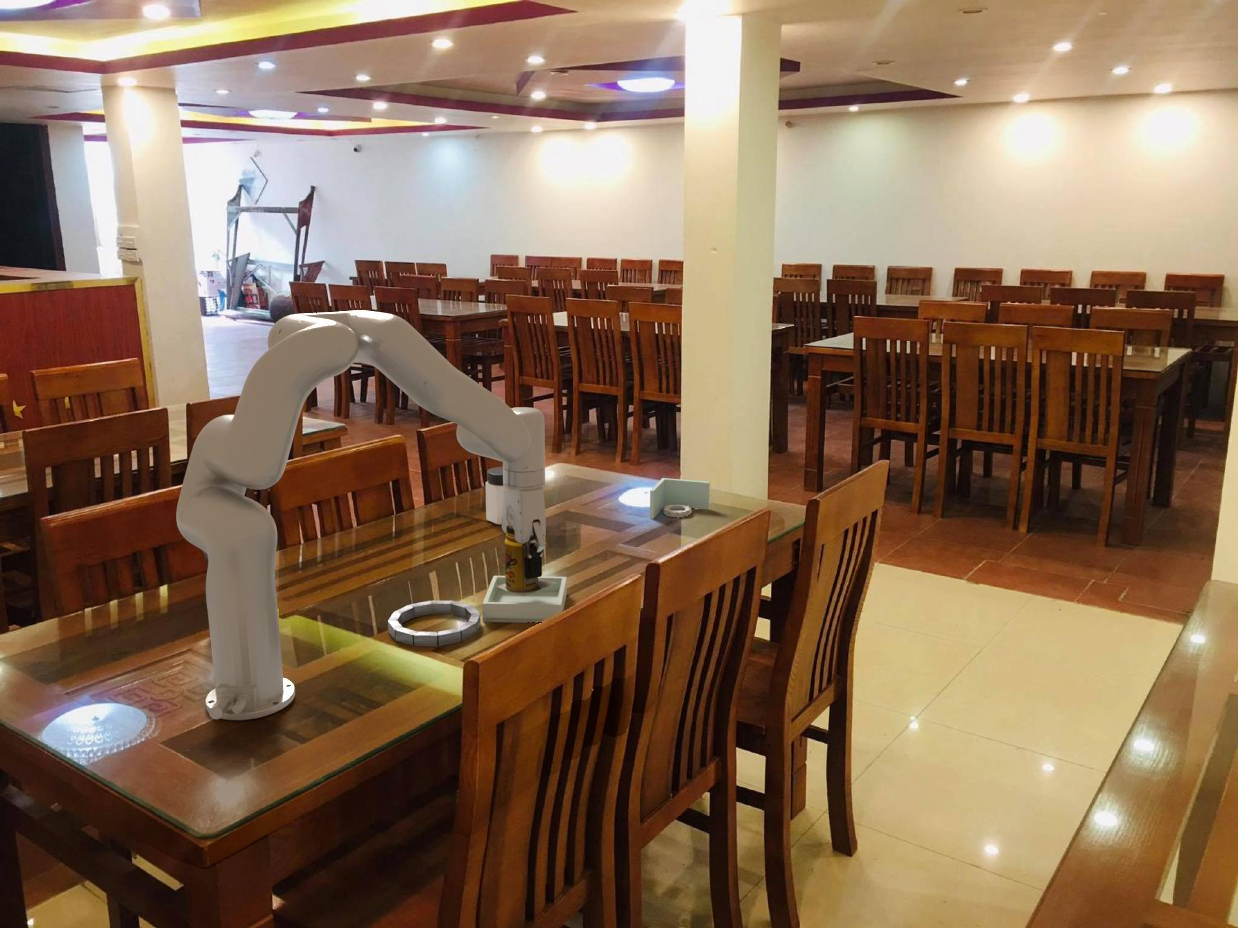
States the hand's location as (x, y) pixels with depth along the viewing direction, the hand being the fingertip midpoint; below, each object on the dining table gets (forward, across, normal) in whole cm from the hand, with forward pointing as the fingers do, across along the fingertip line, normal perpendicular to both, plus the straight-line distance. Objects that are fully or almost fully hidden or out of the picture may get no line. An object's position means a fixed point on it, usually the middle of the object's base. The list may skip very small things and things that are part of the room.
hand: (525, 570), depth 185 cm
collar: (+7, +1, -18) cm, 19 cm away
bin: (+7, 0, 0) cm, 7 cm away
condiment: (+3, 0, 0) cm, 3 cm away
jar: (+7, -52, +18) cm, 56 cm away
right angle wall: (+8, -37, +57) cm, 69 cm away
